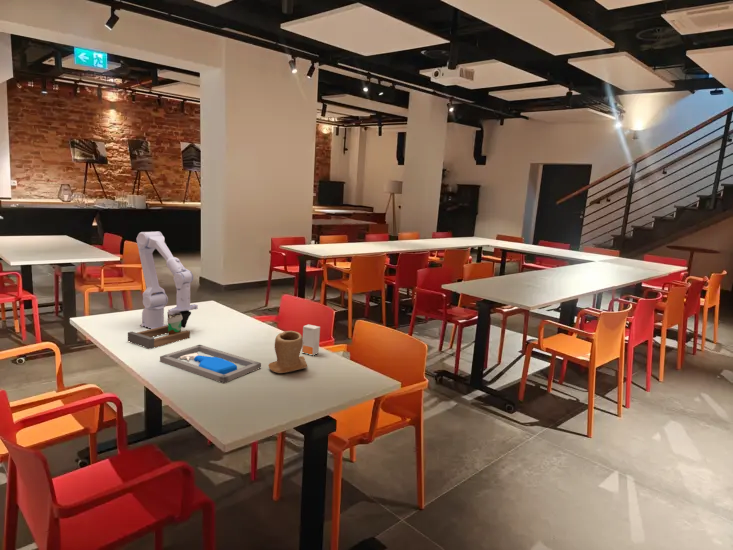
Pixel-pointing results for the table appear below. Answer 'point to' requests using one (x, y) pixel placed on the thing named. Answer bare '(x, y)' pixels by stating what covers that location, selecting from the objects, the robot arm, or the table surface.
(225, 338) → the table surface
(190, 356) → the spray bottle
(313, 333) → the skincare box
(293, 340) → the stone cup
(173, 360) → the rim
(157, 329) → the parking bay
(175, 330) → the food container
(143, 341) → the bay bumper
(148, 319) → the robot arm
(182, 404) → the table surface
